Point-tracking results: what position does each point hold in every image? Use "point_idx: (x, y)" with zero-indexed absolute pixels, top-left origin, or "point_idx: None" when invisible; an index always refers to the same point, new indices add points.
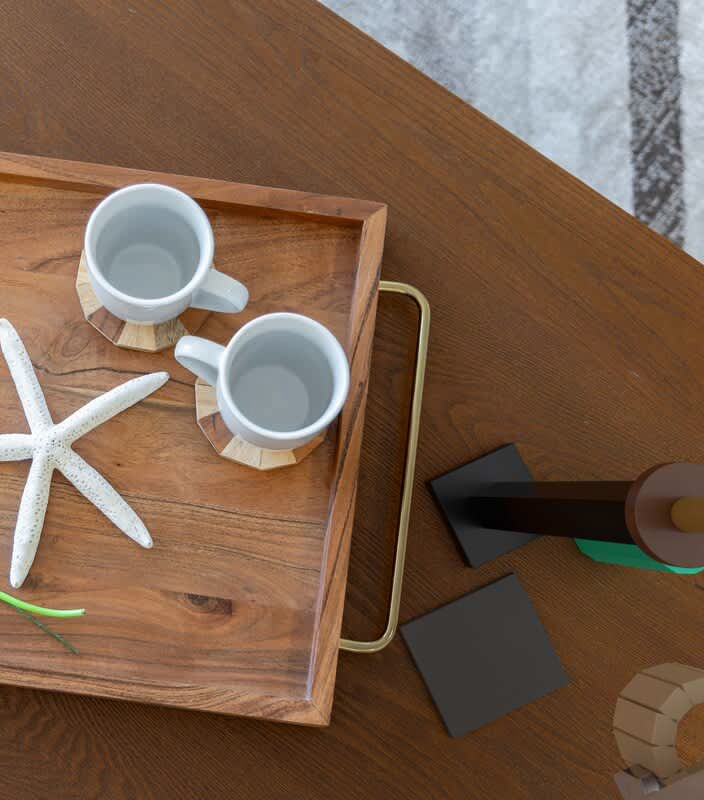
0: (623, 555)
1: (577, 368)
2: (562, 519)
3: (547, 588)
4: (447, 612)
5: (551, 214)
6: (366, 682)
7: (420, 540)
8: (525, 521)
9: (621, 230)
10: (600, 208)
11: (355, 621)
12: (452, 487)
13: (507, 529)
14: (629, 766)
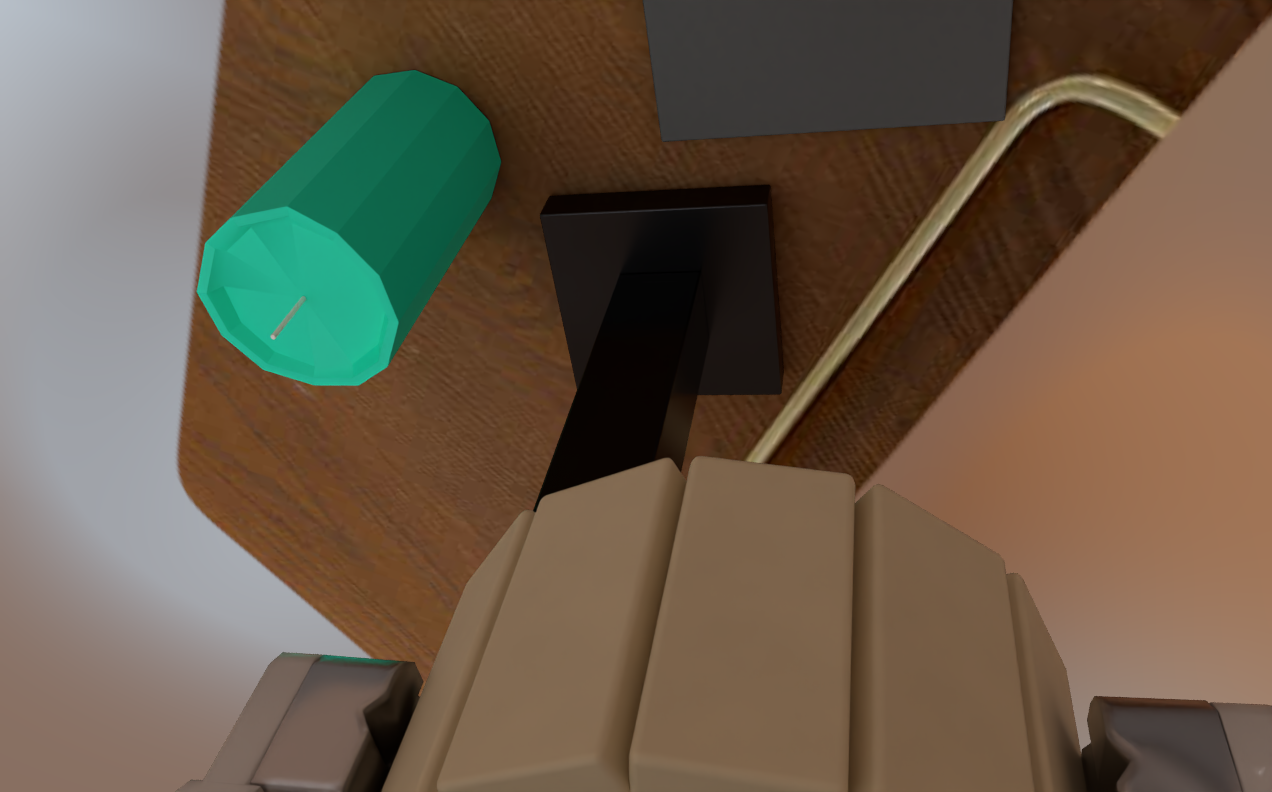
0: (432, 209)
1: (409, 434)
2: None
3: (593, 67)
4: (867, 113)
5: (400, 629)
6: (1168, 4)
7: (846, 272)
8: (671, 433)
9: (289, 574)
10: (319, 609)
11: (1098, 162)
12: (739, 369)
13: (686, 341)
14: (1058, 656)
